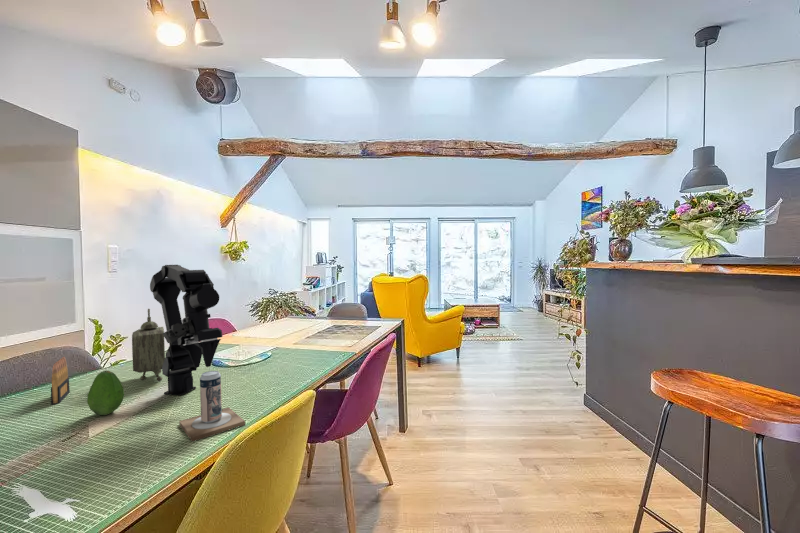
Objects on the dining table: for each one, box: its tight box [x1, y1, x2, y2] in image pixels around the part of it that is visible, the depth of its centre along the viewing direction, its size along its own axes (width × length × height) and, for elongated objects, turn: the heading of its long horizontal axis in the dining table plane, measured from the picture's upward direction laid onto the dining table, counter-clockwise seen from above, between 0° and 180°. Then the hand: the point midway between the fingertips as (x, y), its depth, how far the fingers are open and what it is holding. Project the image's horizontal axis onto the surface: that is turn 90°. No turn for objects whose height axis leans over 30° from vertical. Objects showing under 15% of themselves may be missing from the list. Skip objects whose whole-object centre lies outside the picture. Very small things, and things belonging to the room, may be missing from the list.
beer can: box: [199, 370, 223, 423], centre depth 93 cm, size 5×5×12 cm
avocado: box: [86, 370, 125, 416], centre depth 101 cm, size 8×8×12 cm
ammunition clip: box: [50, 356, 71, 406], centre depth 113 cm, size 11×2×12 cm, turn 30°
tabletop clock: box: [131, 308, 166, 382], centre depth 130 cm, size 14×9×25 cm, turn 34°
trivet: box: [178, 406, 246, 442], centre depth 93 cm, size 12×12×1 cm
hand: (202, 367), depth 104 cm, fingers open, 9 cm apart
